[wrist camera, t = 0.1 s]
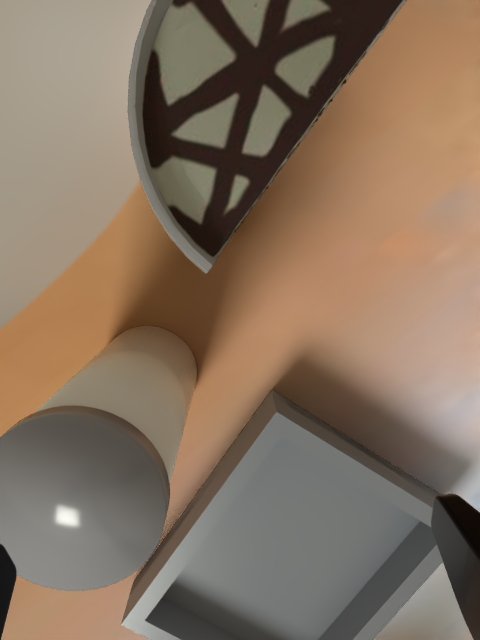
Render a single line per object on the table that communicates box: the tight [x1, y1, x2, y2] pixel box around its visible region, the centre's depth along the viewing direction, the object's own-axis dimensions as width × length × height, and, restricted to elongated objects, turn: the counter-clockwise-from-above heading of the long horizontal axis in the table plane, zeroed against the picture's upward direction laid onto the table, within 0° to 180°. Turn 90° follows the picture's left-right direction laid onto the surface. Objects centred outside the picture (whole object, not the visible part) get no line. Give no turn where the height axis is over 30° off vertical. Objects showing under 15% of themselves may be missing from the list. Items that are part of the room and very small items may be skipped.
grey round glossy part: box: [0, 326, 197, 591], centre depth 18 cm, size 6×6×12 cm
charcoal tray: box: [121, 390, 443, 640], centre depth 25 cm, size 16×13×3 cm
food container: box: [128, 0, 407, 274], centre depth 16 cm, size 12×6×10 cm, turn 143°
